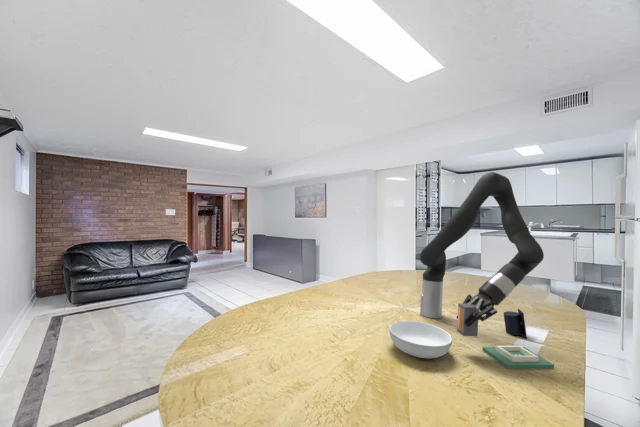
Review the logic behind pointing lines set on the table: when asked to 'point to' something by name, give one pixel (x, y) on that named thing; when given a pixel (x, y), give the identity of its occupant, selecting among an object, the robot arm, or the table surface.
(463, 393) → the table surface
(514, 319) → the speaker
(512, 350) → the board
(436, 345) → the serving bowl
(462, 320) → the gray rectangular block
